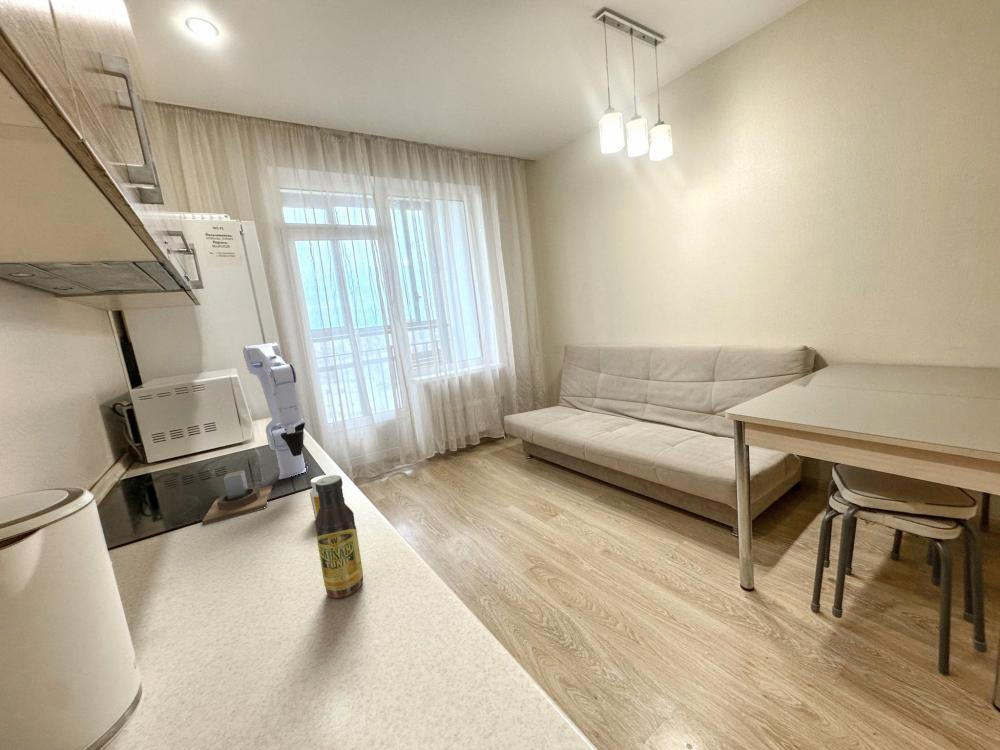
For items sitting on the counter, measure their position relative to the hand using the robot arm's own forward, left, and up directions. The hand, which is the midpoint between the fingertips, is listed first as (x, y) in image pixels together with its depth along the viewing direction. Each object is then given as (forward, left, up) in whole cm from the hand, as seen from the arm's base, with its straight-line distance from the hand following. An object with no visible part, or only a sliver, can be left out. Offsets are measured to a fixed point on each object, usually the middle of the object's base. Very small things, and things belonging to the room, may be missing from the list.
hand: (298, 451), depth 114 cm
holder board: (+3, -16, -10) cm, 19 cm away
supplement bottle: (+26, +6, -11) cm, 28 cm away
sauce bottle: (+57, +9, -11) cm, 58 cm away
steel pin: (+3, -16, -9) cm, 19 cm away
